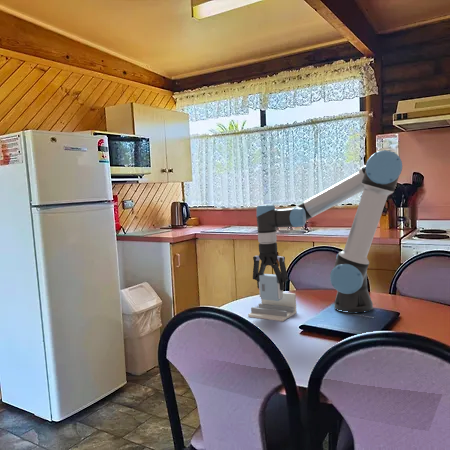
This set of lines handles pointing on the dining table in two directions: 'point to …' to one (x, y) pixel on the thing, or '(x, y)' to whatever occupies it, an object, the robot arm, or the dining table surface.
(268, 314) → the track
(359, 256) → the robot arm
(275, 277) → the door
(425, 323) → the dining table surface
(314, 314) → the dining table surface
